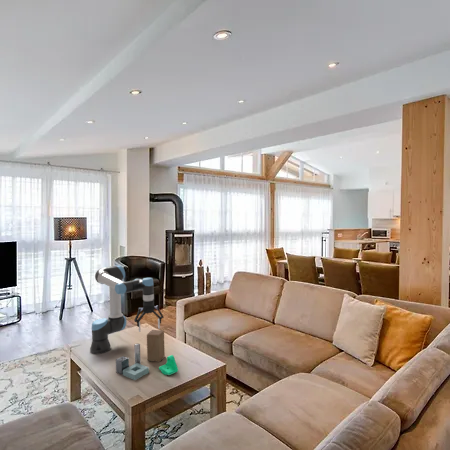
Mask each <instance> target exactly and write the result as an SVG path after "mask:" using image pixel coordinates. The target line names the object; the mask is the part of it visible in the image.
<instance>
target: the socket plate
mask: <svg viewBox="0 0 450 450" xmlns="http://www.w3.org/2000/svg"><path fill="white" fill-rule="evenodd" d="M149 367H150V366H146V365H143V364H139V363H136V364H135V363H134V364H132V365H129V367H128V368H126V369H124V370H123V374H122V376H124V377H126V378H129V379H131V380H134V381H136V380H138V379H140V378H141V377H143V375H144V376H145V375H147V374H149V373H150V368H149Z"/></svg>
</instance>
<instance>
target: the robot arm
mask: <svg viewBox="0 0 450 450" xmlns="http://www.w3.org/2000/svg"><path fill="white" fill-rule="evenodd" d="M125 278H126V271H125V269H124V267H123V266H122V265H112V266H105V267H101V268H99V269H98V270H97V271H96V272H95V275H94V279H95V281H96V282H97V283H99V284H100V285H105V286H108V287H109V308H110V309H109V314H108V316H107V317H108V318H105V317H101V318H99V319H95V320H94V321H93V322H92V323H91V344H90V348H89V352H90V353H91V354H95V355H96V354H104V353H107V352H109V351H110V350H111V343H110V340H109V335H111V334H115V333H117V332H118V333H119V332H121V331H123V330H125V328H126V326H127V318H126V316H125V315H124V313H122V295H125V294H127V293H133V292H137V291H142V300H143V301H142V306H143V307H138V311H137V314H136V315H135V318H134V321H133V322H135V323H136V326H137V327H136V328H138V332H141V320H142V319H143V317H145V315H146V314H147V315H148V314H152V313H153V315H155V316H156V317H157V327H158V330H161V324H162V319H164V314H162V313H163V312H162V311H161V310H160V306H159V305H155V291H154V286H155V285H154V279H153V277H143V278H135V279H133V280H130V281H124V279H125ZM155 309H156V310H157V311H158V313H157V312H156V311H155ZM141 312H142V313H141Z"/></svg>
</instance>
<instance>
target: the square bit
mask: <svg viewBox="0 0 450 450" xmlns="http://www.w3.org/2000/svg"><path fill="white" fill-rule="evenodd" d="M128 367H130V358H129V357H127V356H124V355H122V356H120V357H118V358H115V372H116V373H117V374H119V375H121V376H123V370H124V369H126V368H128Z"/></svg>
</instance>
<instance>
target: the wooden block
mask: <svg viewBox="0 0 450 450" xmlns="http://www.w3.org/2000/svg"><path fill="white" fill-rule="evenodd" d="M165 351H166V349H165V331H164V330H161V329H151V330H150V331H148V333H147V334H146V356H147V357H146V359H147V361H148V362H156V363H157V362H158V363H159V362H161V361H162V360H163V358H165V357H166V356H165V354H166V353H165Z"/></svg>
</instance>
